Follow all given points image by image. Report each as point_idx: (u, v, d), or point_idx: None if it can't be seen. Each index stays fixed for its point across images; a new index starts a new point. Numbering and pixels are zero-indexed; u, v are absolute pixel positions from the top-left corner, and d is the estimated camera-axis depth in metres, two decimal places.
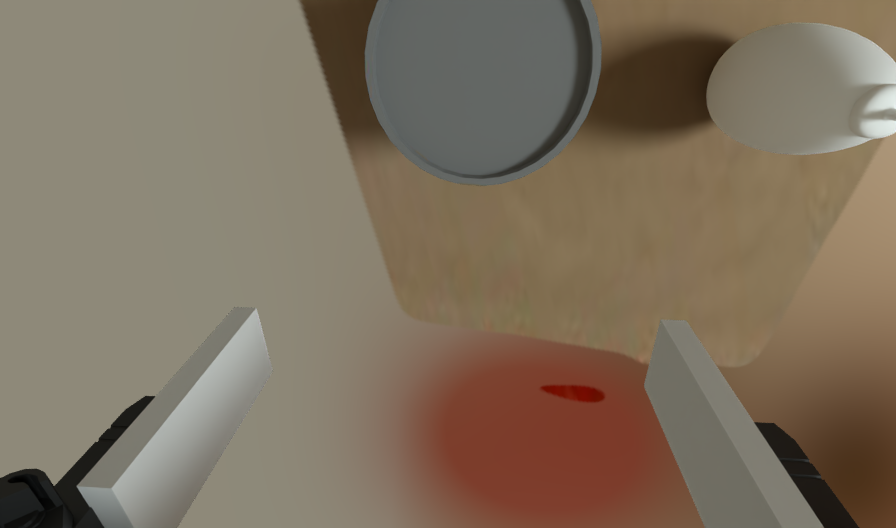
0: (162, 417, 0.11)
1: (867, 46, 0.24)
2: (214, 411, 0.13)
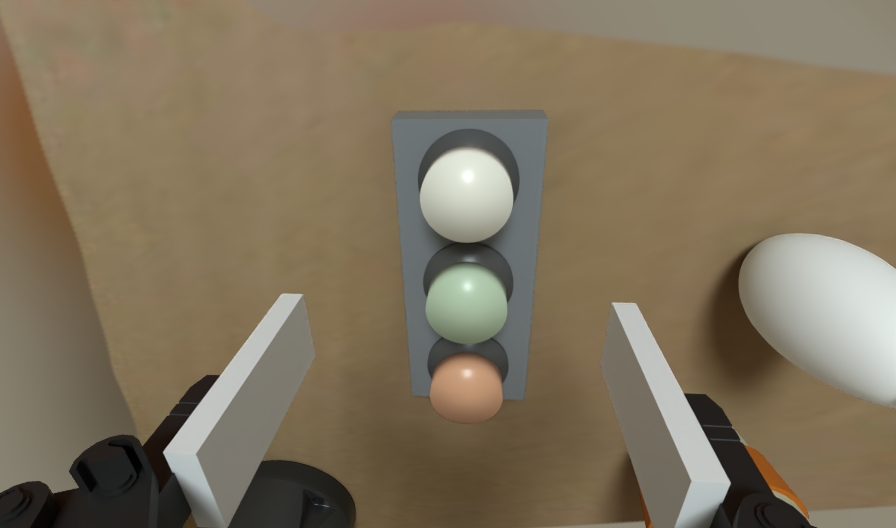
0: (231, 392, 0.11)
1: (834, 347, 0.24)
2: (271, 390, 0.13)
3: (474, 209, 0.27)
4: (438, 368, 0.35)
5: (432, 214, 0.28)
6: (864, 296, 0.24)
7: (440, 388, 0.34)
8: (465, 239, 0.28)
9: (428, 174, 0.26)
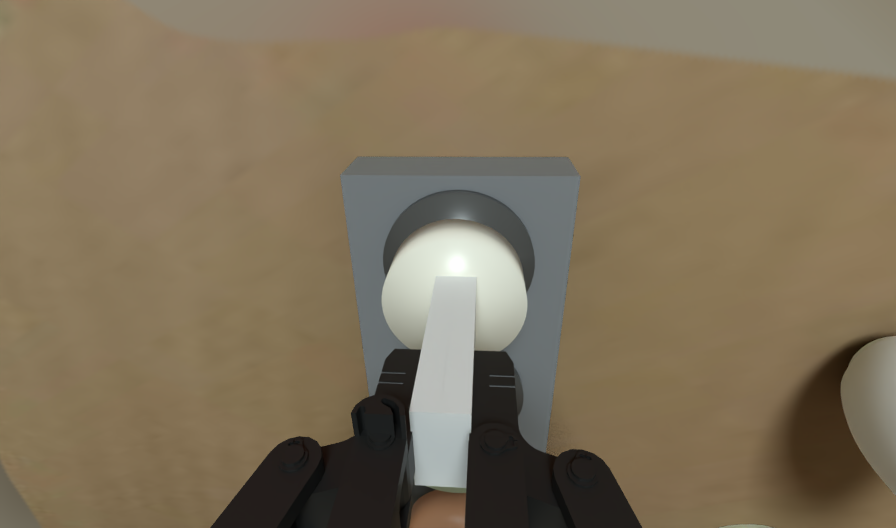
0: (440, 361, 0.12)
1: None
2: None
3: None
4: (418, 510, 0.25)
5: (402, 324, 0.18)
6: None
7: None
8: None
9: (393, 268, 0.17)
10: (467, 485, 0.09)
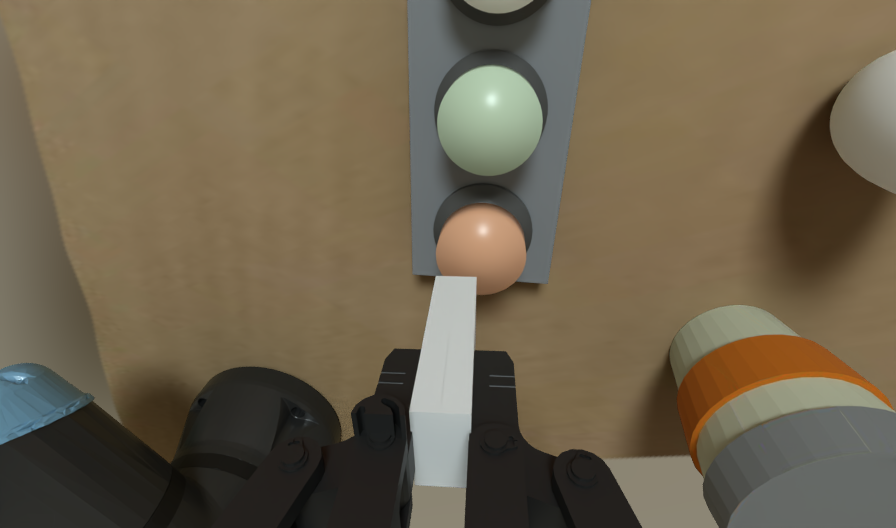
0: (440, 361, 0.12)
1: None
2: None
3: None
4: (448, 221, 0.28)
5: None
6: None
7: (449, 242, 0.28)
8: (496, 8, 0.22)
9: None
10: (467, 485, 0.09)
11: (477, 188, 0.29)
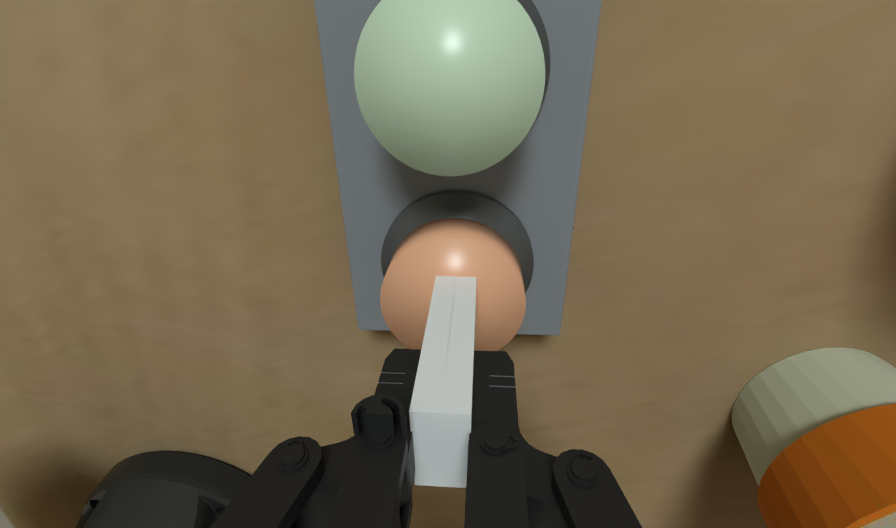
0: (440, 361, 0.12)
1: None
2: None
3: None
4: (398, 249, 0.18)
5: None
6: None
7: (400, 284, 0.17)
8: None
9: None
10: (467, 485, 0.09)
11: (443, 198, 0.19)
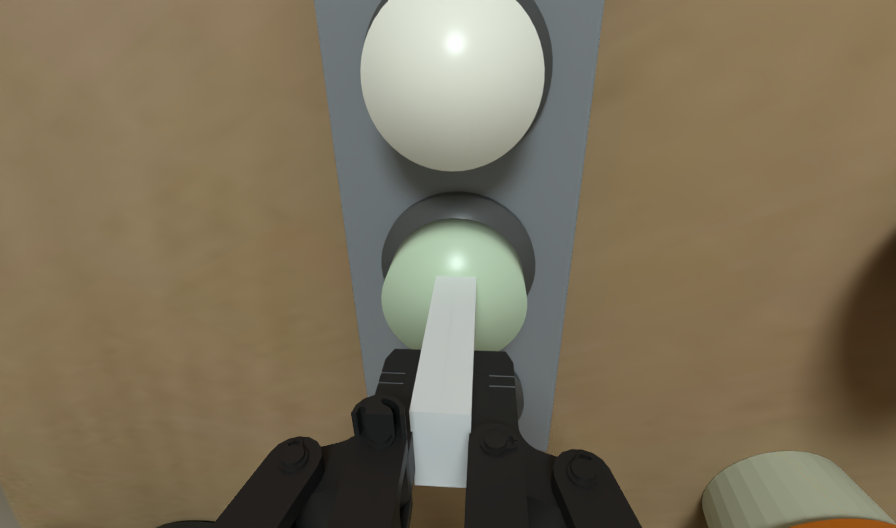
0: (440, 361, 0.12)
1: None
2: None
3: (467, 102, 0.14)
4: None
5: (386, 113, 0.14)
6: None
7: None
8: (451, 165, 0.15)
9: (374, 23, 0.13)
10: (467, 485, 0.09)
11: None
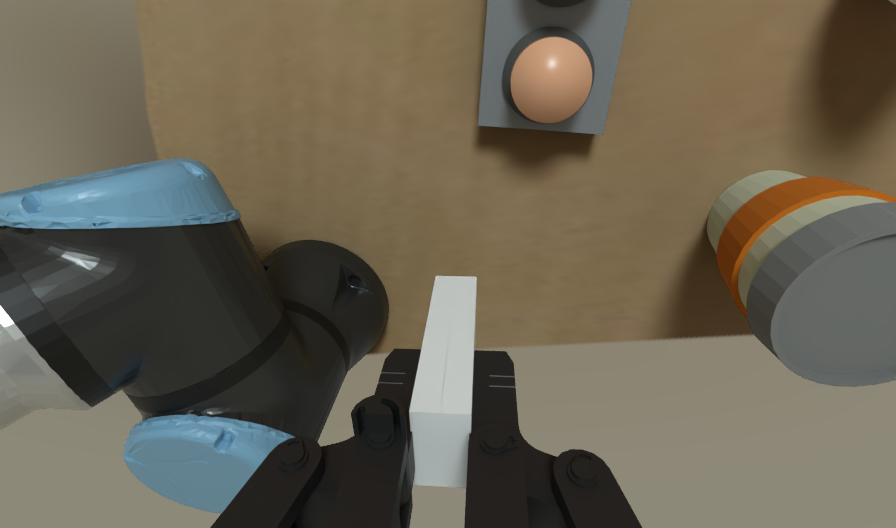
0: (440, 361, 0.12)
1: None
2: None
3: None
4: (522, 52, 0.32)
5: None
6: None
7: (524, 66, 0.31)
8: None
9: None
10: (467, 485, 0.09)
11: (547, 29, 0.32)
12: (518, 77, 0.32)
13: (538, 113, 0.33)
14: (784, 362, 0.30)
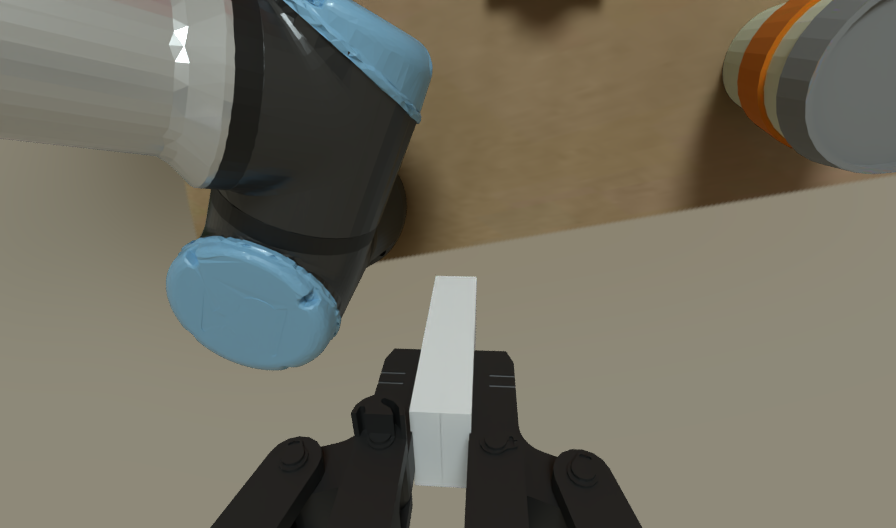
0: (440, 361, 0.12)
1: None
2: None
3: None
4: None
5: None
6: None
7: None
8: None
9: None
10: (467, 485, 0.09)
11: None
12: None
13: None
14: (820, 151, 0.30)
